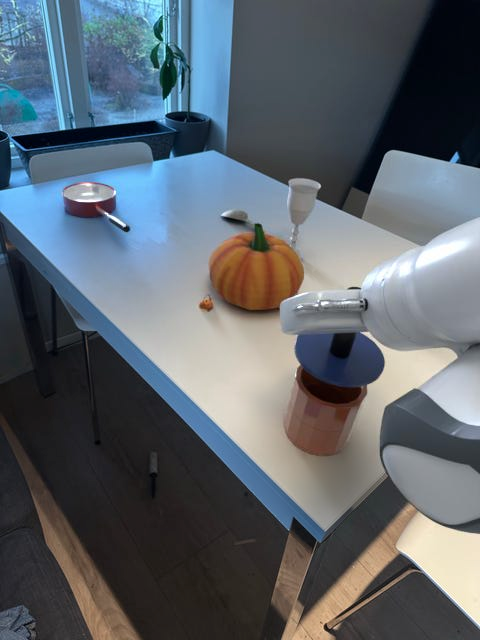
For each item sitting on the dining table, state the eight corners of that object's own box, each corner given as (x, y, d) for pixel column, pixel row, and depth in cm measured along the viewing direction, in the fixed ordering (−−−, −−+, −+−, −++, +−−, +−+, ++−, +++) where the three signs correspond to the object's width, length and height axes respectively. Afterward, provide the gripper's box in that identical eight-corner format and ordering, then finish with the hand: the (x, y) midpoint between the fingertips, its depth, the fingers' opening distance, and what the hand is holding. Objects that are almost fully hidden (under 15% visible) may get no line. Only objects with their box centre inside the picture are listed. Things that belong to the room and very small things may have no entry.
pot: (358, 425, 67) (377, 378, 61) (331, 468, 61) (349, 420, 55) (303, 394, 71) (316, 347, 65) (271, 431, 65) (282, 382, 59)
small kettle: (196, 304, 88) (197, 293, 86) (210, 302, 89) (211, 290, 87) (201, 312, 86) (202, 301, 84) (216, 310, 87) (217, 298, 85)
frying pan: (163, 243, 106) (162, 218, 102) (112, 256, 99) (109, 229, 95) (103, 194, 125) (101, 172, 121) (56, 202, 118) (53, 179, 114)
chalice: (286, 266, 103) (300, 191, 92) (270, 253, 108) (281, 179, 97) (311, 261, 107) (327, 188, 96) (294, 248, 111) (308, 177, 100)
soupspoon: (235, 213, 125) (216, 219, 122) (236, 202, 123) (216, 207, 120) (288, 244, 112) (268, 251, 108) (289, 232, 110) (269, 239, 106)
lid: (394, 356, 59) (421, 291, 53) (361, 406, 51) (388, 337, 45) (318, 320, 64) (334, 257, 57) (276, 361, 56) (290, 293, 50)
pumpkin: (312, 315, 89) (329, 248, 80) (219, 323, 84) (225, 253, 75) (280, 265, 103) (291, 204, 94) (199, 270, 98) (202, 205, 89)
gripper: (306, 341, 39) (265, 351, 52) (509, 332, 43) (422, 343, 56) (301, 270, 39) (262, 298, 53) (500, 267, 43) (417, 294, 57)
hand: (346, 321), depth 54 cm, fingers closed on lid, 2 cm apart
